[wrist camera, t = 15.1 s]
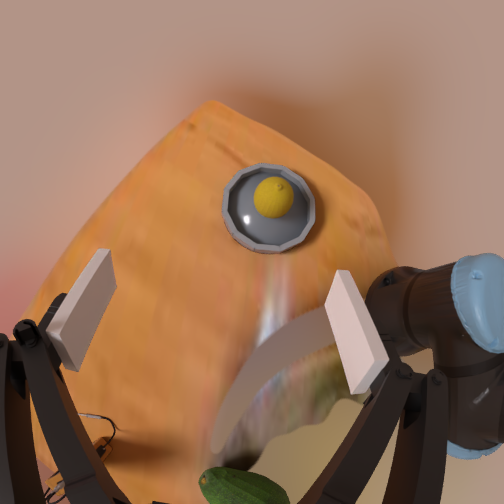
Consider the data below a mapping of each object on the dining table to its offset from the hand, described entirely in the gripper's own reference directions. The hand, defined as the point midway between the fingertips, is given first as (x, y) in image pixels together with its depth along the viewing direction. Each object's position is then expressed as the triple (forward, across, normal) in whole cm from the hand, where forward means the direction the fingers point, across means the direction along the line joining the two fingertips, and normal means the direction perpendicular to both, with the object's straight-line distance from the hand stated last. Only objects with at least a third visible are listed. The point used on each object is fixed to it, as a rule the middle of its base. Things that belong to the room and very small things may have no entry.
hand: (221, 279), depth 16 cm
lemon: (+28, +6, -7) cm, 29 cm away
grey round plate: (+28, +6, -8) cm, 30 cm away
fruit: (-3, +5, -40) cm, 40 cm away
